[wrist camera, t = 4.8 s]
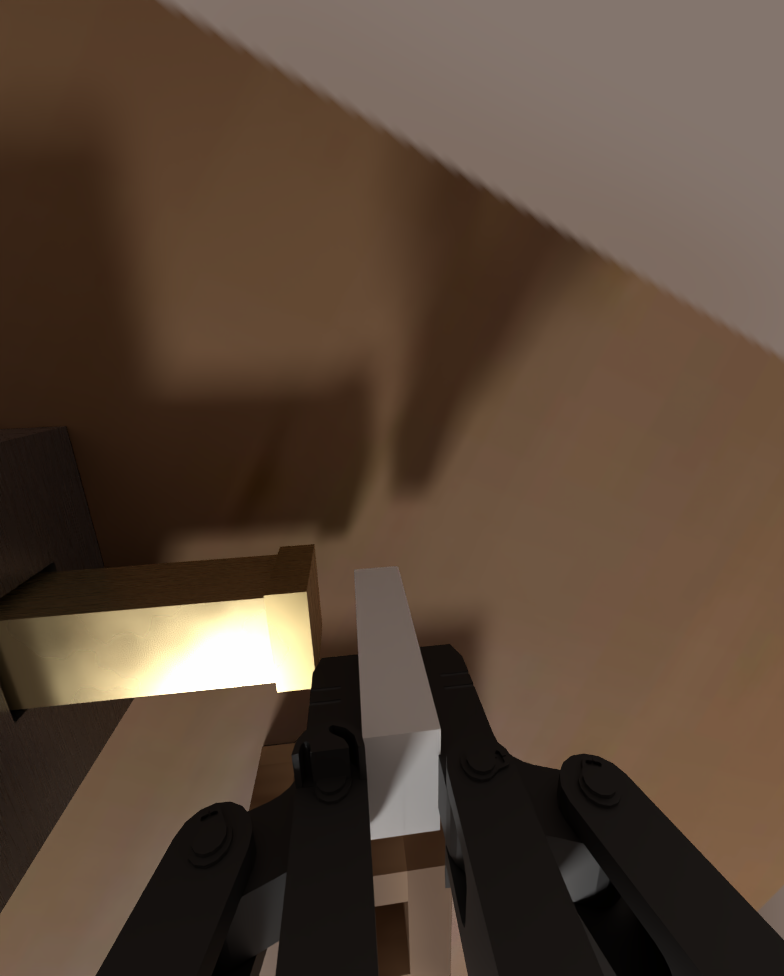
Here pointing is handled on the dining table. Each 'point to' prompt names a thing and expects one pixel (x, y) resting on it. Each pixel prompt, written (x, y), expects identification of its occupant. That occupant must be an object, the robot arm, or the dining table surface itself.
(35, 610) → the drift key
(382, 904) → the open box
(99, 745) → the socket
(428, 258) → the dining table surface
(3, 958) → the dining table surface
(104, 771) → the dining table surface
